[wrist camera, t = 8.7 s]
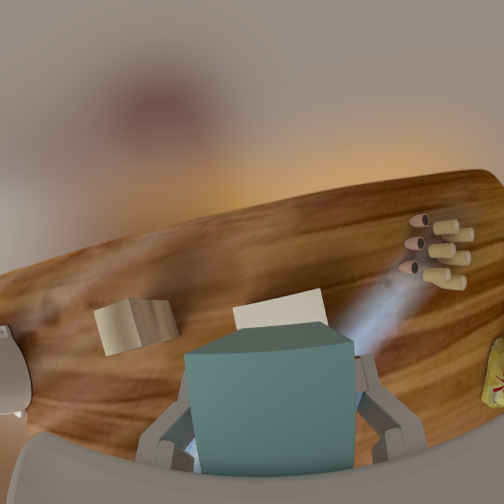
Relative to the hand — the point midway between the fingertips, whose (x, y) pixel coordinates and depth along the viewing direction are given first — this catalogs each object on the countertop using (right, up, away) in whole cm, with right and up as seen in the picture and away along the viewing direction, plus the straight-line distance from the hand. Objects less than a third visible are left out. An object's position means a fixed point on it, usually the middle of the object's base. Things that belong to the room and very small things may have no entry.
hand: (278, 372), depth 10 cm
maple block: (-12, -4, +21) cm, 25 cm away
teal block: (+1, -2, +5) cm, 5 cm away
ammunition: (+20, +4, +18) cm, 28 cm away
